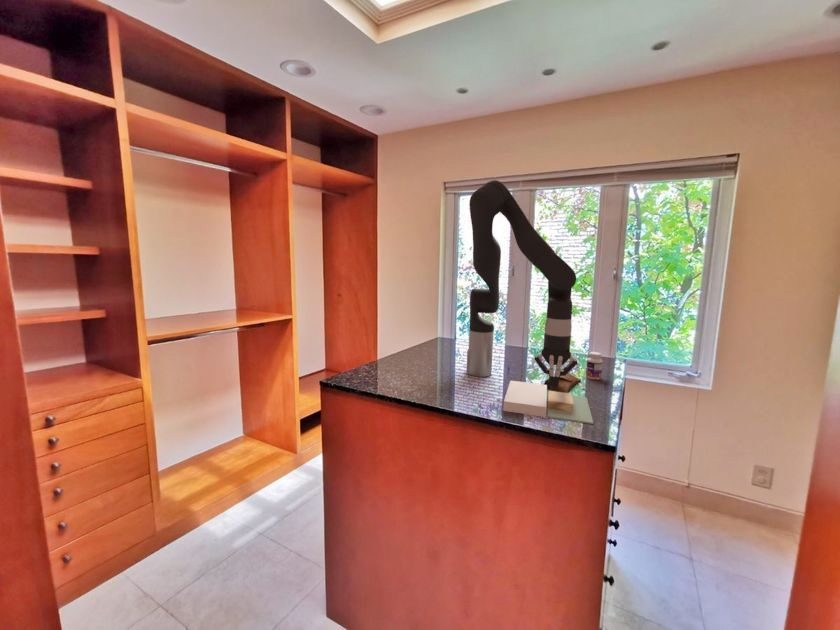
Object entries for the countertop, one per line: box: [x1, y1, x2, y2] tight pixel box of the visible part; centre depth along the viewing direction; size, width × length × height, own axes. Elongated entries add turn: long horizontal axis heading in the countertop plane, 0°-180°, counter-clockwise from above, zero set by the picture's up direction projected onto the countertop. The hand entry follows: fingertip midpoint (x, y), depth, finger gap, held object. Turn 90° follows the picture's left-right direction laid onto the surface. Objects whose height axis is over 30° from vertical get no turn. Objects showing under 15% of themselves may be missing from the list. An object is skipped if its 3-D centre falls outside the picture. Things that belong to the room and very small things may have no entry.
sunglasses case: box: [543, 368, 582, 393], centre depth 135 cm, size 18×7×7 cm, turn 143°
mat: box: [547, 395, 594, 425], centre depth 114 cm, size 12×20×1 cm, turn 161°
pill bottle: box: [585, 351, 604, 380], centre depth 142 cm, size 5×5×10 cm
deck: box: [502, 380, 548, 418], centre depth 118 cm, size 12×20×3 cm, turn 161°
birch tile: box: [546, 390, 573, 412], centre depth 114 cm, size 7×9×2 cm
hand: (553, 387), depth 115 cm, fingers closed
